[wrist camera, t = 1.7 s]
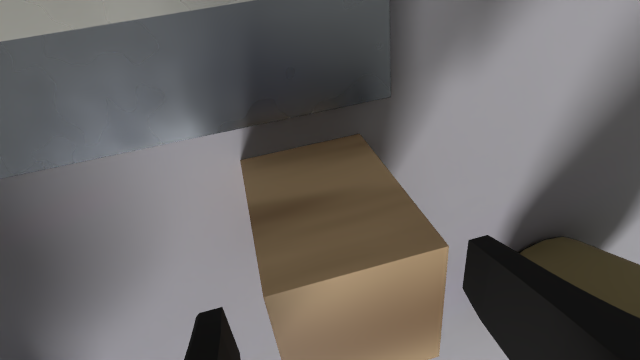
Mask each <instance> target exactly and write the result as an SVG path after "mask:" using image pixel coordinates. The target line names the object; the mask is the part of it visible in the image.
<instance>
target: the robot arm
mask: <svg viewBox="0 0 640 360" xmlns="http://www.w3.org/2000/svg"><path fill="white" fill-rule="evenodd" d="M463 290H464V292H465V293H466V295H467V297H468V299H469V301H470V303H471V304H472V306H473V308H474V310H475V311H476V313H477V315H478V317H479V318H480V320H481V321H482V323H483V324H484V326H485V327H486V328H487V330H488V331H489V332H490V334H491V335H492V337H493V338H494V339H495V341H496V342H497V343H498V345H499V346H500V348H501V349H502V350H503V352H504V353H505V354H506V356H507V357H508V358H509V360H640V318H639V317H636V316H634V315H632V314H630V313H627V312H625V311H623V310H621V309H619V308H617V307H615V306H613V305H611V304H609V303H607V302H605V301H603V300H601V299H599V298H597V297H595V296H593V295H591V294H589V293H588V292H586V291H584V290H582V289H580V288H578V287H576V286H575V285H573V284H571V283H569V282H567V281H565V280H564V279H562V278H560V277H558V276H557V275H555V274H553V273H551V272H550V271H548V270H546V269H544V268H543V267H541V266H539V265H538V264H536V263H534V262H532V261H531V260H529V259H527V258H526V257H524V256H522V255H521V254H519V253H517V252H516V251H514V250H512V249H511V248H509V247H507V246H506V245H504V244H502V243H501V242H499V241H497V240H495V239H494V238H492V237H490V236H488V235H486V236H482V237H478V238H475V239H471V240H469V241H468V249H467V257H466V265H465V273H464V281H463ZM184 360H240V352H239V350H238V347H237V345H236V342H235V339H234V337H233V334H232V331H231V329H230V326H229V324H228V321H227V318H226V316H225V313H224V310H223V308H222V307H220V308H217V309H213V310H209V311H206V312H202V313H199V314H198V315H197V317H196V320H195V324H194V328H193V332H192V335H191V339H190V342H189V346H188V349H187V352H186V355H185V359H184Z"/></svg>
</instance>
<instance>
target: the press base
mask: <svg viewBox="0 0 640 360" xmlns="http://www.w3.org/2000/svg"><path fill="white" fill-rule="evenodd" d="M388 97H391V72H390V6H389V0H0V179H2V178H6V177H11V176H16V175H21V174H26V173H30V172H35V171H40V170H45V169H49V168H54V167H59V166H64V165H68V164H73V163H78V162H83V161H87V160H92V159H97V158H102V157H106V156H111V155H116V154H121V153H126V152H130V151H135V150H140V149H145V148H149V147H154V146H159V145H164V144H168V143H173V142H178V141H183V140H187V139H192V138H197V137H202V136H207V135H211V134H216V133H221V132H226V131H230V130H235V129H240V128H245V127H249V126H254V125H259V124H264V123H268V122H273V121H278V120H283V119H288V118H292V117H297V116H302V115H307V114H311V113H316V112H321V111H326V110H330V109H335V108H340V107H345V106H349V105H354V104H359V103H364V102H369V101H373V100H378V99H383V98H388Z"/></svg>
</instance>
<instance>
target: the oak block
mask: <svg viewBox="0 0 640 360" xmlns="http://www.w3.org/2000/svg"><path fill="white" fill-rule="evenodd" d="M240 161H241V167H242V173H243V179H244V185H245V191H246V197H247V203H248V209H249V215H250V220H251V226H252V232H253V238H254V244H255V250H256V256H257V262H258V268H259V274H260V280H261V286H262V292H263V297H264V301H265V304H266V308H267V311H268V315H269V318H270V322H271V325H272V329H273V332H274V336H275V339H276V343H277V346H278V349H279V353H280V356H281V360H428V359H432V358H435V357H438V356H439V350H440V339H441V328H442V316H443V305H444V294H445V283H446V272H447V261H448V249H449V246H448V244H447V243H446V242H445V241H444V239H443V238H442V237H441V236H440V234H439V233H438V232H437V231H436V229H435V228H434V227H433V226H432V224H431V223H430V222H429V221H428V219H427V218H426V217H425V216H424V214H423V213H422V212H421V210H420V209H419V208H418V207H417V205H416V204H415V203H414V202H413V200H412V199H411V198H410V197H409V195H408V194H407V193H406V192H405V190H404V189H403V188H402V187H401V185H400V184H399V183H398V181H397V180H396V179H395V178H394V176H393V175H392V174H391V173H390V171H389V170H388V169H387V168H386V166H385V165H384V164H383V163H382V161H381V160H380V159H379V158H378V156H377V155H376V154H375V153H374V151H373V150H372V149H371V147H370V146H369V145H368V144H367V142H366V141H365V140H364V139H363V137H362V136H361V135H360V134H356V135H351V136H347V137H342V138H338V139H333V140H329V141H324V142H320V143H315V144H311V145H306V146H302V147H298V148H293V149H289V150H284V151H280V152H275V153H271V154H266V155H262V156H257V157H253V158H248V159H244V160H240Z"/></svg>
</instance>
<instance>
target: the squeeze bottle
mask: <svg viewBox="0 0 640 360" xmlns="http://www.w3.org/2000/svg"><path fill="white" fill-rule="evenodd" d="M520 254H521V255H522V256H524V257H526V258H527V259H529V260H531V261H532V262H534V263H536V264H538V265H539V266H541V267H543V268H544V269H546V270H548V271H550V272H551V273H553V274H555V275H557V276H558V277H560V278H562V279H564V280H565V281H567V282H569V283H571V284H573V285H575V286H576V287H578V288H580V289H582V290H584V291H586V292H588V293H589V294H591V295H593V296H595V297H597V298H599V299H601V300H603V301H605V302H607V303H609V304H611V305H613V306H615V307H617V308H619V309H621V310H623V311H625V312H627V313H630V314H632V315H634V316H636V317H639V318H640V265H639V264H636V263H634V262H631V261H629V260H626V259H624V258H621V257H618V256H616V255H613V254H611V253H608V252H606V251H603V250H601V249H598V248H596V247H593V246H590V245H588V244H585V243H583V242H580V241H578V240H574V239H570V238H566V237H559V238H553V239H547V240H543V241H541V242H539V243H537V244H535V245H533V246H531V247H529V248H527V249H525V250H524V251H522V252H521V253H520Z"/></svg>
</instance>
